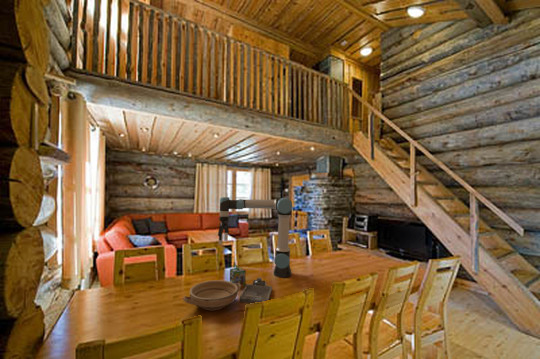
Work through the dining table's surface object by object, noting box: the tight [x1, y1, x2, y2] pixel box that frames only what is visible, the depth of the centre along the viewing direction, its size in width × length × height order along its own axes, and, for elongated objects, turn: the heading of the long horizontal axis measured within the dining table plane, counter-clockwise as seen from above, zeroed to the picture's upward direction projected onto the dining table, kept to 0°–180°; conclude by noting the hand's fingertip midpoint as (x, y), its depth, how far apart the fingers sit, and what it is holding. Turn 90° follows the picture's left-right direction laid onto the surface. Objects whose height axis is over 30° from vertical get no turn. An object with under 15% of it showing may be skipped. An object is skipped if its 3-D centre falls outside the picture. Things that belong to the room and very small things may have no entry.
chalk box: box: [229, 264, 247, 288], centre depth 180 cm, size 9×9×15 cm
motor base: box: [238, 277, 273, 304], centre depth 164 cm, size 23×18×8 cm
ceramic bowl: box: [182, 279, 242, 312], centre depth 148 cm, size 37×29×10 cm
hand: (223, 242), depth 198 cm, fingers open, 13 cm apart
